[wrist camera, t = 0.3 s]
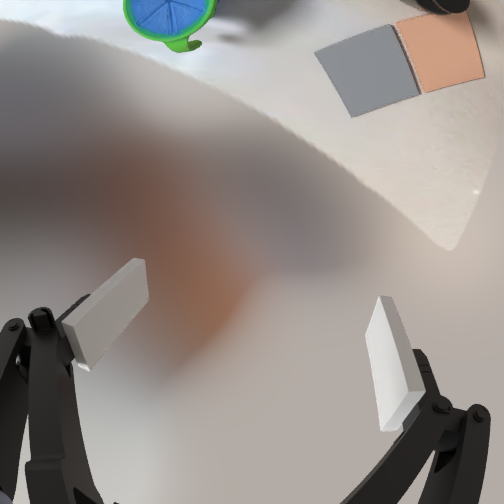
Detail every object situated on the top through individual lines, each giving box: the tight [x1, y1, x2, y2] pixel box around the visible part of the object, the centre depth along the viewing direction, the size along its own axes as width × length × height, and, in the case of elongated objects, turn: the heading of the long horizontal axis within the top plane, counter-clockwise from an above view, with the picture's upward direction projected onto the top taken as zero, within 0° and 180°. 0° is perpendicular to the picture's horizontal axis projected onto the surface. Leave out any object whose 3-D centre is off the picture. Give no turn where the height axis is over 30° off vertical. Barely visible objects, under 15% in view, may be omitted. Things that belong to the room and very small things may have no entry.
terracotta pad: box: [395, 10, 484, 93], centre depth 26 cm, size 12×12×1 cm
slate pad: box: [314, 24, 419, 118], centre depth 33 cm, size 12×12×1 cm
